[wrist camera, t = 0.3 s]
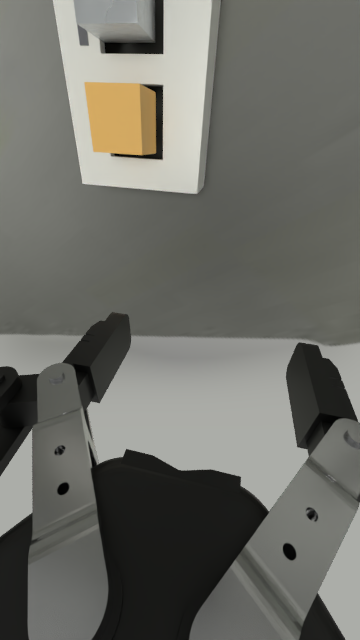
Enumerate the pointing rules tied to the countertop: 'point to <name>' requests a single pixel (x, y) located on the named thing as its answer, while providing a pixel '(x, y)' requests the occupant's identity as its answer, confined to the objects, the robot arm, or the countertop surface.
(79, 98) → the panel
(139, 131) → the tan cardboard-coloured cube
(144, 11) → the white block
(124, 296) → the countertop surface
